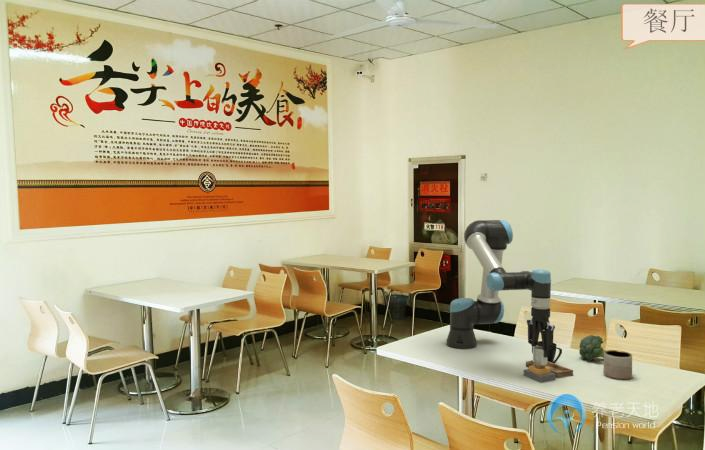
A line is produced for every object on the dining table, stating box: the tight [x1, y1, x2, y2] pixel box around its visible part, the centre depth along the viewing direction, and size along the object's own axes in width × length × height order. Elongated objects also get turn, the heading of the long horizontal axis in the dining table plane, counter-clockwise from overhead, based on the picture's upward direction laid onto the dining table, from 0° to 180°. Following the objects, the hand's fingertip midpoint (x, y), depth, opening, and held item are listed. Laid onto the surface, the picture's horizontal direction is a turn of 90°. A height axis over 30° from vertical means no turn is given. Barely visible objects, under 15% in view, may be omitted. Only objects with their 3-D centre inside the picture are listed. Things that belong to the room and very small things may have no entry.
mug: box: [537, 340, 563, 364], centre depth 248 cm, size 8×12×10 cm
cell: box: [534, 346, 546, 369], centre depth 228 cm, size 4×4×9 cm
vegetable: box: [578, 334, 608, 362], centre depth 254 cm, size 12×13×15 cm
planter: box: [602, 349, 633, 381], centre depth 231 cm, size 11×11×10 cm
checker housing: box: [523, 368, 557, 384], centre depth 229 cm, size 10×8×2 cm
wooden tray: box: [525, 359, 574, 379], centre depth 238 cm, size 18×9×2 cm, turn 26°
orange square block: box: [528, 365, 550, 375], centre depth 229 cm, size 6×6×3 cm
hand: (539, 363), depth 229 cm, fingers closed on cell, 4 cm apart
